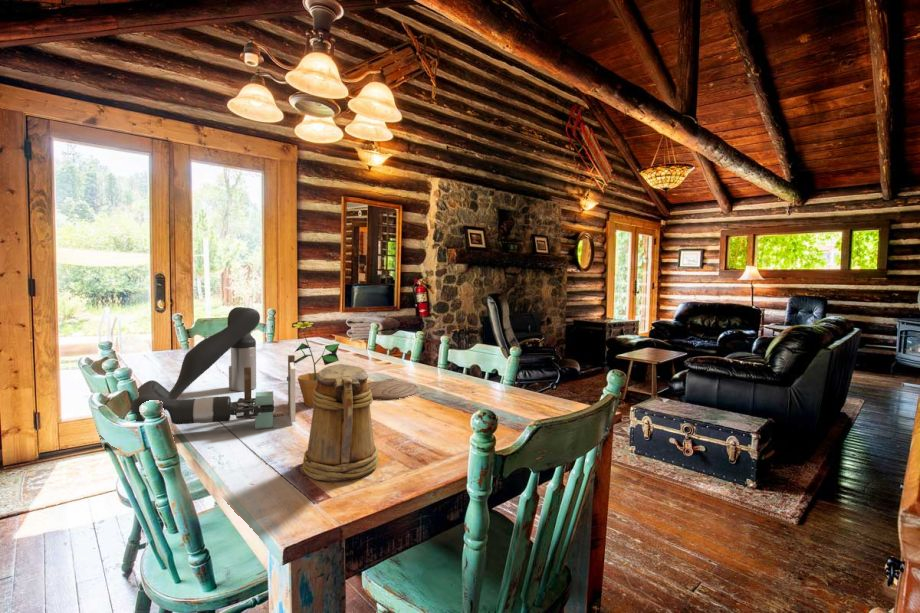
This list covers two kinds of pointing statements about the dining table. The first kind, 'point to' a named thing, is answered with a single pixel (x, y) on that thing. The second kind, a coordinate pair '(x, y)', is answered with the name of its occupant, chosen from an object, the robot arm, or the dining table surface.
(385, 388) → the trivet
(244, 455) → the dining table surface
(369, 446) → the tankard
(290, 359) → the door frame
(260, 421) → the teal block
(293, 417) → the cream door
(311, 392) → the potted plant
